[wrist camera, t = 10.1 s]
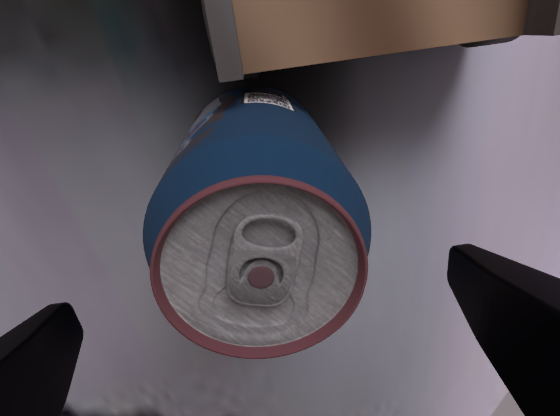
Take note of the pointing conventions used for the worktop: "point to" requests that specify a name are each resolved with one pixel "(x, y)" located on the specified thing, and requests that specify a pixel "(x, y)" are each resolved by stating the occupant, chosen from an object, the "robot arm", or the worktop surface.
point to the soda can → (257, 230)
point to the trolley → (359, 29)
